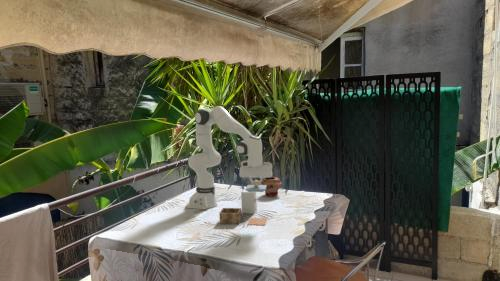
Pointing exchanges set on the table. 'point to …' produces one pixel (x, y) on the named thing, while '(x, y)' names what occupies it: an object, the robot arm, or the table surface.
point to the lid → (256, 187)
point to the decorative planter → (271, 186)
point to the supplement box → (248, 202)
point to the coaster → (257, 221)
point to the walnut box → (230, 216)
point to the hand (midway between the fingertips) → (256, 184)
